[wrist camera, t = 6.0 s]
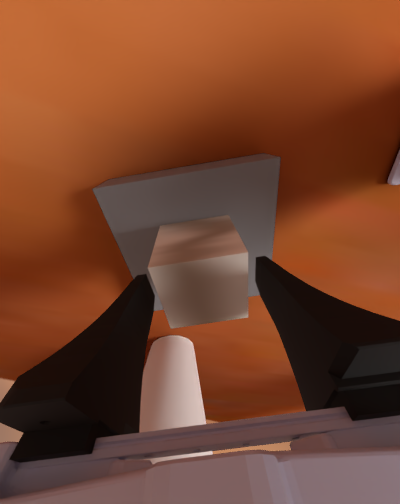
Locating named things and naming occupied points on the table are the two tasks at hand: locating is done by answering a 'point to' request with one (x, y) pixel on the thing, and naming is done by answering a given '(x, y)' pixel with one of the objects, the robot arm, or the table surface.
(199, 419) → the foam cup
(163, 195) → the charcoal plinth
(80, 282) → the table surface
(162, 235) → the cream cube
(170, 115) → the table surface
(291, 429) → the robot arm
